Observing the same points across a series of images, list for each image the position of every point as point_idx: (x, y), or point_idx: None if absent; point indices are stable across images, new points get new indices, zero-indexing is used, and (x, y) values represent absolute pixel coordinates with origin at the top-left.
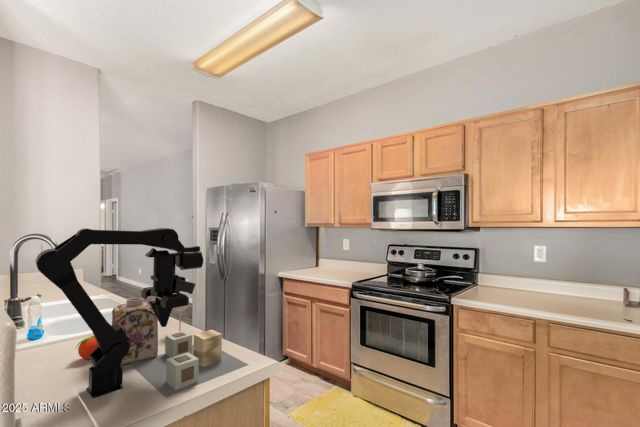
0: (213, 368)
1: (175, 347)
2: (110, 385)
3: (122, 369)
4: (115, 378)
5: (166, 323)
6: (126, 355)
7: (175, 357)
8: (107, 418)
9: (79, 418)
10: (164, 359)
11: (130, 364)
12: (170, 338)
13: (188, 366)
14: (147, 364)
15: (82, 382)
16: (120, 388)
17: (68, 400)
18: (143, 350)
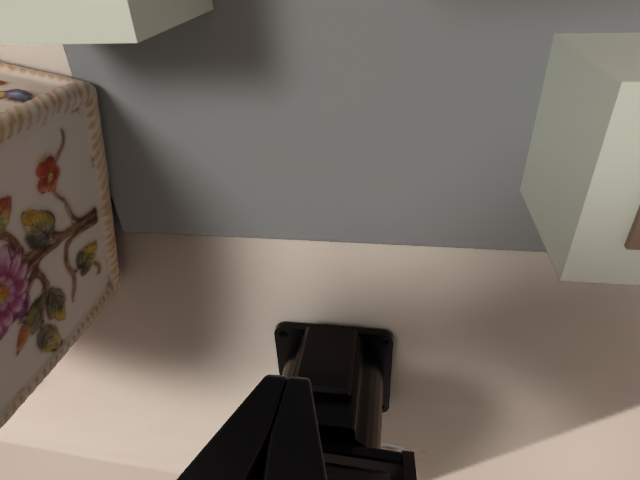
0: None
1: (168, 1)
2: (382, 390)
3: (350, 387)
4: (369, 389)
5: (315, 419)
6: (86, 271)
7: (607, 224)
8: (572, 417)
9: (482, 450)
10: (168, 58)
11: (133, 231)
12: (62, 43)
13: None
14: (189, 171)
15: (201, 382)
16: (392, 343)
17: None
18: (66, 193)
